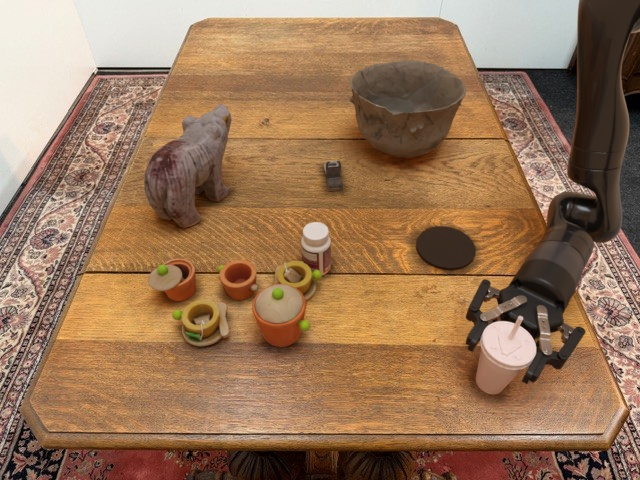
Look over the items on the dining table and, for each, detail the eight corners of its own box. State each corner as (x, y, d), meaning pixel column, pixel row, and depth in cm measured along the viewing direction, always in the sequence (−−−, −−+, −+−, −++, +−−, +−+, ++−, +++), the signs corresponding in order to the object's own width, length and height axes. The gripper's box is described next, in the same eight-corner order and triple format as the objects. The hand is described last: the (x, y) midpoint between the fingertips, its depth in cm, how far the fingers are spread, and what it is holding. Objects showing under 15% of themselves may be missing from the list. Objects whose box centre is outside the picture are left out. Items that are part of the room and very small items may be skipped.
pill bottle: (324, 253, 81) (324, 216, 75) (335, 272, 78) (336, 236, 72) (298, 260, 80) (296, 224, 74) (308, 280, 76) (306, 244, 71)
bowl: (332, 135, 106) (333, 71, 96) (412, 112, 113) (421, 50, 103) (385, 190, 93) (393, 122, 82) (472, 159, 100) (490, 93, 89)
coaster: (475, 233, 84) (475, 230, 84) (474, 274, 77) (475, 272, 77) (418, 224, 86) (418, 222, 85) (413, 264, 79) (413, 262, 78)
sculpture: (241, 168, 98) (231, 102, 87) (217, 238, 84) (201, 169, 73) (183, 165, 99) (166, 100, 88) (149, 234, 84) (124, 165, 74)
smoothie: (519, 373, 64) (554, 313, 55) (507, 413, 61) (542, 355, 51) (473, 353, 67) (499, 291, 57) (458, 389, 63) (483, 330, 53)
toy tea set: (322, 270, 78) (321, 228, 71) (321, 353, 67) (320, 313, 60) (164, 270, 78) (149, 228, 71) (138, 353, 67) (117, 312, 60)
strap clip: (323, 166, 98) (322, 149, 95) (337, 165, 99) (337, 148, 96) (328, 192, 92) (328, 174, 89) (343, 190, 93) (344, 173, 90)
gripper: (504, 238, 66) (449, 314, 57) (612, 286, 60) (570, 381, 51) (491, 272, 72) (438, 348, 63) (589, 321, 65) (547, 412, 56)
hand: (498, 362), depth 57 cm, fingers closed on smoothie, 6 cm apart
